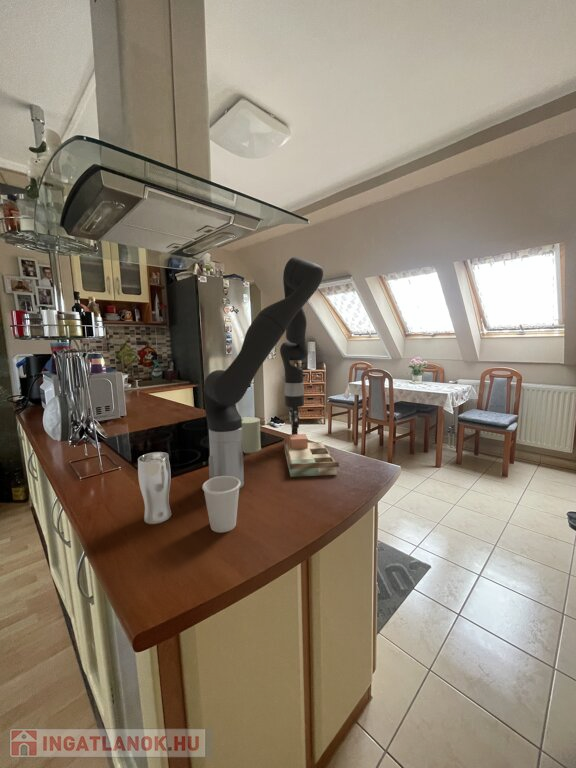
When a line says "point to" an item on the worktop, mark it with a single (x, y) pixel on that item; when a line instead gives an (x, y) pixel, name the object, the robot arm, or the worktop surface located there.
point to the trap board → (310, 460)
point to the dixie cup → (222, 502)
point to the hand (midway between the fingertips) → (294, 436)
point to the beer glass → (155, 486)
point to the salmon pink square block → (298, 441)
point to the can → (251, 434)
